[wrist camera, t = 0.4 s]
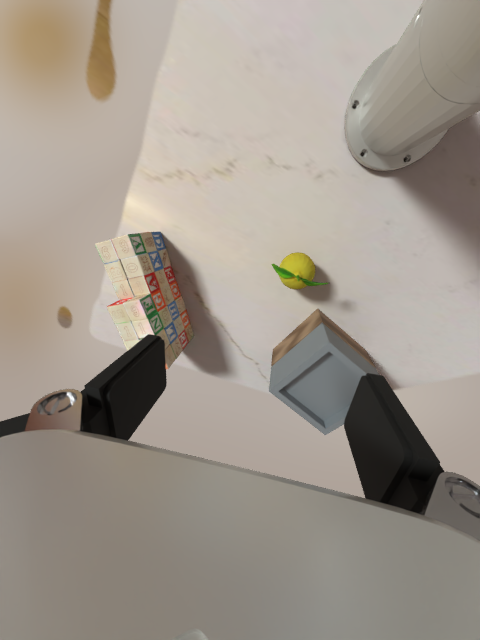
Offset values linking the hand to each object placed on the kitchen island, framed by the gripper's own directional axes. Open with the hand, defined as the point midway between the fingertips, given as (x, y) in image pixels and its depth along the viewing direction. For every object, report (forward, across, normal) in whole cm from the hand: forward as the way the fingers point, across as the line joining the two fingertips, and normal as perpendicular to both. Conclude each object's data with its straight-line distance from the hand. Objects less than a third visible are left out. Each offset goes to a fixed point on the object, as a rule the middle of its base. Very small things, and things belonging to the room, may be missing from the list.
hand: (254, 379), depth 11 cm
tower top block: (+26, -10, +15) cm, 32 cm away
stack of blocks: (+32, +21, +7) cm, 39 cm away
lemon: (+32, -4, -1) cm, 32 cm away
